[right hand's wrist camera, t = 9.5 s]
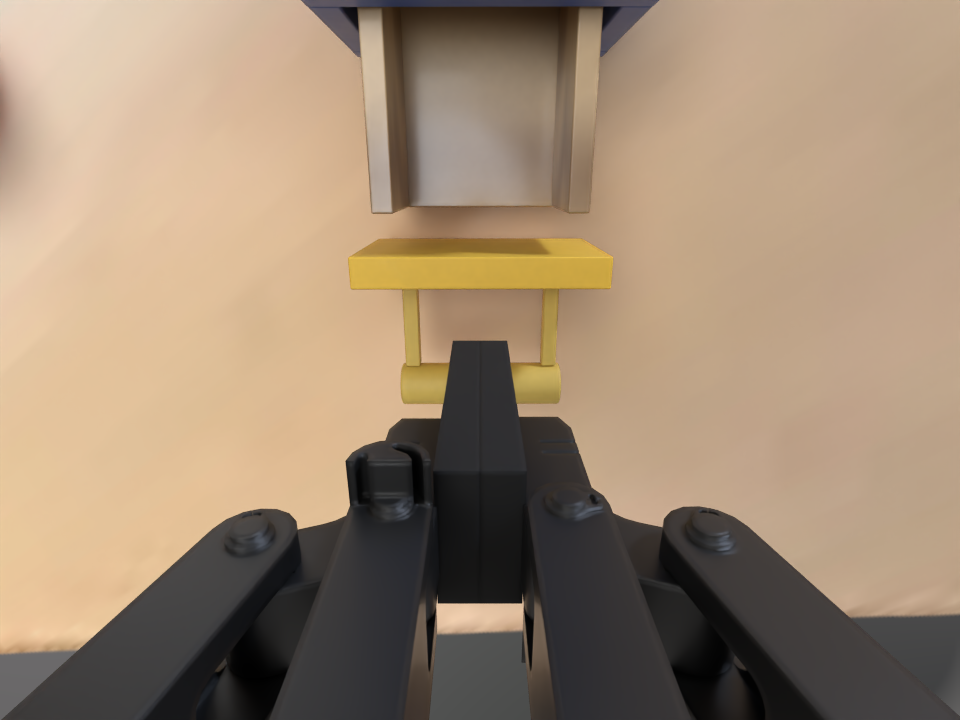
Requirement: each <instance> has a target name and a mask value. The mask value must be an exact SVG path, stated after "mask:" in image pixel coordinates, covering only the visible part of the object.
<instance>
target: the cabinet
mask: <svg viewBox="0 0 960 720" xmlns="http://www.w3.org/2000/svg"><path fill="white" fill-rule="evenodd" d="M301 1H302V2H303V3H304V4H305V5H306V6H308V7H309V8H310V9H311V10H312V11H313V12H314V13H315V14H316V15H317V16H318V17H319V18H320V19H321V20H322V21H323V22H324V23H325V24H326V25H327V26H328V27H329V28H330V29H331V30H332V31H333V32H334V33H335V34H336V35H337V36H338V37H339V38H340V39H341V40H342V41H343V42H344V43H345V44H346V45H347V46H348V47H349V48H350V49H351V50H352V51H353V53H354V54H355V55H356V56H358V57H361V53H360V39H359V24H358V10H357V7H544V6H603V18H602V33H601V48H600V56H603V55H604V54H605V53H606V52H607V51H608V50H609V49H610V48H611V47H612V46H613V45H614V44H615V43H616V42H617V41H618V40H619V39H620V38H621V37H622V36H623V35H624V34H625V33H626V32H627V31H628V30H629V29H630V28H631V27H632V26H633V25H634V24H635V23H636V22H637V21H638V20H639V19H640V18H641V17H642V16H643V15H644V14H645V13H646V12H647V11H648V10H649V9H650V8H651V7H652V6H654V5H655V4H656V3H657V2H658V1H659V0H301Z"/></svg>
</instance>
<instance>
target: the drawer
mask: <svg viewBox="0 0 960 720" xmlns="http://www.w3.org/2000/svg"><path fill="white" fill-rule="evenodd" d="M357 10H358V24H359V39H360V53H361V68H362V83H363V97H364V112H365V126H366V141H367V155H368V170H369V185H370V199H371V212H372V213H373V214H392V213H395V212H397V211H400V210H402V209H405V208H407V207H555V208H557V209H560V210H562V211H565V212H567V213H589V212H590V200H591V185H592V170H593V155H594V140H595V124H596V109H597V94H598V79H599V64H600V48H601V33H602V18H603V6H544V7H357ZM348 263H349V275H350V287H351V289H402V294H403V313H404V332H405V351H406V363H404V364H403V366H402V371H401V397H402V401H403V403H404V404H443V403H444V396H445V390H446V383H447V377H448V370H449V364H450V363H421V339H420V315H419V291H418V289H543V298H542V324H541V350H540V362H541V363H510V364H511V370H512V377H513V383H514V390H515V396H516V403H517V404H557V403H558V402H559V400H560V393H561V375H560V368H559V365H558V363H555V358H556V337H557V317H558V297H559V289H610V288H611V279H612V267H613V257H612V256H610V255H609V254H607V253H605V252H603V251H602V250H600V249H598V248H597V247H595V246H593V245H592V244H590V243H588V242H587V241H585V240H583V239H378V240H377V241H375V242H373V243H372V244H370V245H368V246H367V247H365V248H363V249H362V250H360V251H358V252H357V253H355V254H354V255H352V256H350V257H349V258H348Z"/></svg>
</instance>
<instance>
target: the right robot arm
mask: <svg viewBox="0 0 960 720" xmlns="http://www.w3.org/2000/svg"><path fill="white" fill-rule="evenodd" d="M346 470H347V480H348V489H349V499H350V507H349V510H348V513H347V515H346V516H345V517H342V518H340V519H338V520H336V521H333V522H329V523H326V524H322V525H317V526H313V527H308V528H303V529H299V530H298V529H297V522H296V520H295V519H294V518H293V517H292V516H291V515H290V514H289V513H286V512H284V511H281V510H278V509H258V510H253V511H247V512H243V513H241V514H238V515H236V516H233V517H231V518H229V519H226V520H225V521H223V522H222V523H221V524H219V525H218V526H216V527H215V528H213V529H212V530H211V531H210V532H209V533H208V534H206V535H205V536H204V537H203V538H202V539H201V540H200V541H199V542H198V543H196V544H195V545H194V546H193V547H192V548H191V549H190V550H189V551H188V552H187V553H185V554H184V555H183V556H182V557H181V558H180V559H179V560H178V561H177V562H175V563H174V564H173V565H172V566H171V567H170V568H169V569H168V570H167V571H166V572H164V573H163V574H162V575H161V576H160V577H159V578H158V579H157V580H156V581H154V582H153V583H152V584H151V585H150V586H149V587H148V588H147V589H146V590H144V591H143V592H142V593H141V594H140V595H139V596H138V597H137V598H136V599H135V600H133V601H132V602H131V603H130V604H129V605H128V606H127V607H126V608H125V609H123V610H122V611H121V612H120V613H119V614H118V615H117V616H116V617H115V618H114V619H112V620H111V621H110V622H109V623H108V624H107V625H106V626H105V627H104V628H102V629H101V630H100V631H99V632H98V633H97V634H96V635H95V636H94V637H92V638H91V639H90V640H89V641H88V642H87V643H86V644H85V645H84V646H83V647H81V648H80V649H79V650H78V651H77V652H76V653H75V654H74V655H73V656H71V657H70V658H69V659H68V660H67V661H66V662H65V663H64V664H63V665H62V666H60V667H59V668H58V669H57V670H56V671H55V672H54V673H53V674H52V675H50V676H49V677H48V678H47V679H46V680H45V681H44V682H43V683H42V684H40V685H39V686H38V687H37V688H36V689H35V690H34V691H33V692H32V693H31V694H29V695H28V696H27V697H26V698H25V699H24V700H23V701H22V702H21V703H19V704H18V705H17V706H16V707H15V708H14V709H13V710H12V711H11V712H10V713H8V714H7V715H6V716H5V717H4V718H3V719H2V720H429V714H430V702H431V691H432V679H433V668H434V657H435V647H436V635H437V615H436V603H437V595H438V603H522V595H523V600H524V615H523V642H522V663H526V668H527V679H528V690H529V702H530V713H531V720H960V716H959V715H958V714H956V713H955V712H954V711H953V710H952V709H951V708H950V707H949V706H948V705H946V704H945V703H944V702H943V701H942V700H941V699H940V698H939V697H937V696H936V695H935V694H934V693H933V692H932V691H931V690H930V689H929V688H927V687H926V686H925V685H924V684H923V683H922V682H921V681H920V680H918V679H917V678H916V677H915V676H914V675H913V674H912V673H911V672H910V671H908V670H907V669H906V668H905V667H904V666H903V665H902V664H901V663H900V662H898V661H897V660H896V659H895V658H894V657H893V656H892V655H891V654H890V653H888V652H887V651H886V650H885V649H884V648H883V647H882V646H881V645H879V644H878V643H877V642H876V641H875V640H874V639H873V638H872V637H871V636H869V635H868V634H867V633H866V632H865V631H864V630H863V629H862V628H860V627H859V626H858V625H857V624H856V623H855V622H854V621H853V620H852V619H850V618H849V617H848V616H847V615H846V614H845V613H844V612H843V611H842V610H840V609H839V608H838V607H837V606H836V605H835V604H834V603H833V602H832V601H830V600H829V599H828V598H827V597H826V596H825V595H824V594H823V593H821V592H820V591H819V590H818V589H817V588H816V587H815V586H814V585H813V584H811V583H810V582H809V581H808V580H807V579H806V578H805V577H804V576H803V575H801V574H800V573H799V572H798V571H797V570H796V569H795V568H794V567H792V566H791V565H790V564H789V563H788V562H787V561H786V560H785V559H784V558H782V557H781V556H780V555H779V554H778V553H777V552H776V551H775V550H774V549H772V548H771V547H770V546H769V545H768V544H767V543H766V542H765V541H763V540H762V539H761V538H760V537H759V536H758V535H757V534H756V533H755V532H753V531H752V530H751V529H750V528H749V527H748V526H746V525H745V524H743V523H742V522H741V521H739V520H738V519H736V518H735V517H733V516H730V515H728V514H725V513H723V512H721V511H718V510H715V509H711V508H705V507H682V508H679V509H676V510H673V511H671V512H670V513H669V514H668V515H667V516H666V517H665V518H664V522H663V528H662V527H658V526H653V525H648V524H644V523H639V522H635V521H632V520H628V519H625V518H623V517H620V516H618V515H616V514H614V513H613V512H612V509H611V507H610V504H609V503H608V502H607V500H606V499H605V497H604V496H603V495H602V494H600V493H599V492H597V491H596V490H594V489H593V488H591V485H590V482H589V479H588V476H587V473H586V470H585V467H584V465H583V462H582V459H581V456H580V454H579V450H578V447H577V444H576V443H575V439H574V436H573V433H572V430H571V428H570V427H569V426H568V425H567V424H566V423H564V422H563V421H562V420H561V419H560V418H558V417H519V415H518V409H517V403H516V396H515V390H514V383H513V377H512V370H511V364H510V357H509V351H508V344H507V341H453V344H452V351H451V357H450V364H449V370H448V377H447V383H446V390H445V396H444V403H443V409H442V415H441V419H401V420H400V421H399V422H398V423H396V424H395V425H394V426H393V427H392V428H391V429H389V432H388V435H387V438H386V441H379V442H375V443H372V444H369V445H365V446H363V447H361V448H360V449H358V450H356V451H354V452H353V453H352V454H351V455H350V456H349V457H348V459H347V460H346Z"/></svg>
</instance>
